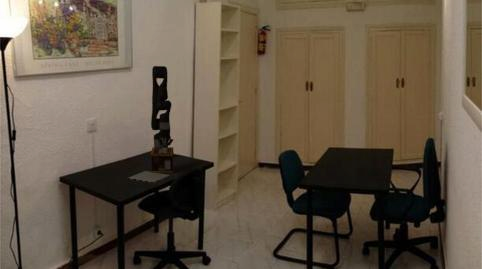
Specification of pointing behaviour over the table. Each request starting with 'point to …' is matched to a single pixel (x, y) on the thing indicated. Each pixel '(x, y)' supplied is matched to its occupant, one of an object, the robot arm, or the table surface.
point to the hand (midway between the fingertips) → (165, 151)
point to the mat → (149, 176)
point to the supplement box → (162, 159)
